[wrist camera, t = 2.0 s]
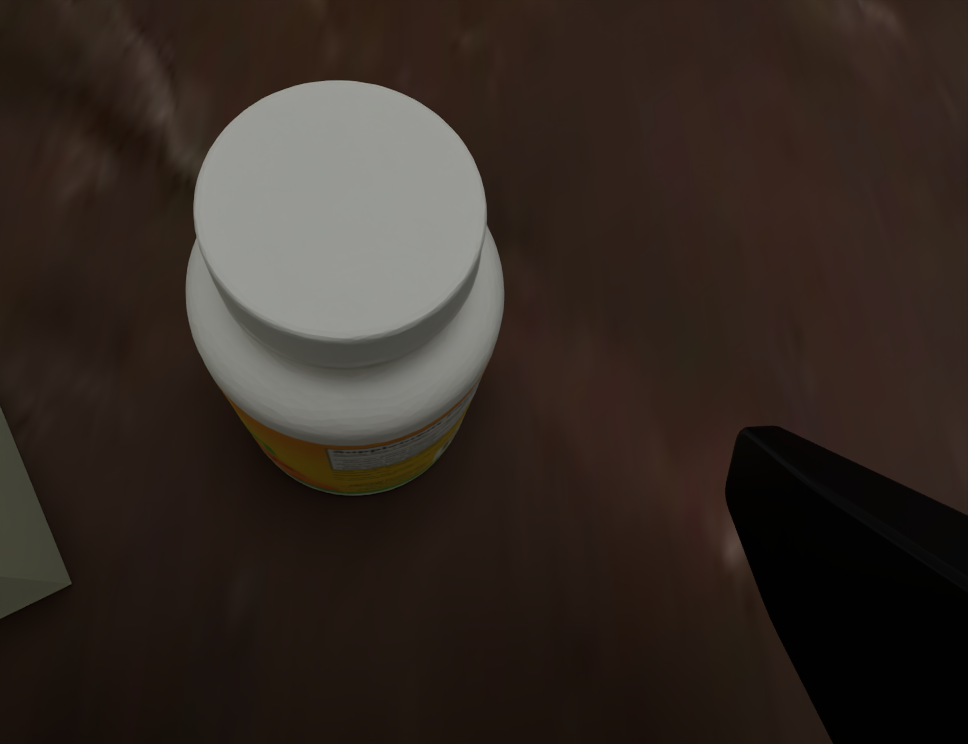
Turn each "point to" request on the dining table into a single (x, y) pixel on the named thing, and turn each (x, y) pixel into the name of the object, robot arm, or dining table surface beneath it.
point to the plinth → (24, 536)
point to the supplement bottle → (344, 282)
